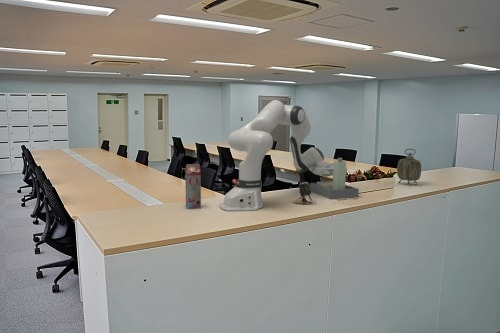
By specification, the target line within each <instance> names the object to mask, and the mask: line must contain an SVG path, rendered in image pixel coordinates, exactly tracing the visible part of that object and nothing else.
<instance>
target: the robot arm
mask: <svg viewBox="0 0 500 333" xmlns="http://www.w3.org/2000/svg"><path fill="white" fill-rule="evenodd" d="M277 125H283V126H290V128H291V135H290V138H289V143H290V147H291V148H290V149H291V153H292V158H293V166H294V168H295V170H296V169H297V168H298V167H300V168H301V169H302V171H301V173H306V172H307V171H308V170H309V171H310V172H311V173H312V174H314V175H316V176H321V177H324V178H328V177H330V176H333V170H334V162H333V163H331V162H327V161H325V156H324V153H323V152H322V151H321V150H320V149H319V148H318V147H314V146H311V147H310V148H309V149H307V150H306V151H304V152H303V153H302V152H301V151H302V150H301V145H302V144H303V143H304V141H305V140H306V139H307V137H308V136H309V135H310V132H311V130H312V129H311V128H312V127H311V122H310V119H309V117H308V116H307V113H306V112H305V110H304V108H303V107H301V106H299V105H292V104H291V105H290V104H284V103H283V102H282V101H280V100H278V99H275V100H271V101H270V102H269V103H268V104H266V105H265V106H264V107H263V108H262V109H261V110H260V112H259V113H258V114H257V115H256V116H255V118H253V119H252V120H251V121H250V122H248V123H247V124H245V125H244V126H242V127H241V128H239V129H237V130H234V131H231V132H230V134H229V137H228V145H229V146H230V148H231V149H232V150H235V151H238V152H246V155H245V158H244V159H243V160H242V161H240V163H239V165H238V179H232V183H233V184H234V187H233V188H232V189H230V190H229V191H228V192H226V193H225V195H224V199H223V202H222V203H219V208H220V209H221V210H222V211H227V212H235V211H236V212H237V211H238V212H242V211H249V212H250V211H258V210H259V209H262V208H263V207H264V204H263V198H262V187H263V186H262V179H261V176H262V175H261V174H262V173H261V172H262V164H263V161H264V158H265V156H266V155H267V153H269V152H270V150H271V149H272V148H273V144H274V140H273V139H274V138H273V136H272V135H271V133H272V132H273V131H274V129H275V128H276V127H277ZM347 173H348V167H346V174H347Z"/></svg>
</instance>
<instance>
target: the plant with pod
mask: <svg viewBox="0 0 500 333" xmlns="http://www.w3.org/2000/svg"><path fill="white" fill-rule="evenodd" d="M301 171H302V169H301V168H300V167H298V168H297V169H296V168H295V174H298V176H299V178H301V174H302V172H301ZM298 190H299V196H300V197H298V198H297V199H296V200H293V201H292V203H295V204H296V203H297V204H301V205H302V204H303V205H309V204H308V203H310V204H311V202H313V199H312V198H311V194H312V193H313V192H312V191H311V187H310V183H309V182H307V181H303V182H301V179H299V184H298ZM306 196H308V198H309V199H310V201H311V202H310V201H309V200H307V199H306Z"/></svg>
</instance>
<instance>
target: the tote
mask: <svg viewBox="0 0 500 333" xmlns="http://www.w3.org/2000/svg"><path fill="white" fill-rule="evenodd" d="M316 183H317V182H310V183H309V185H310V187H311V191H312V192H311V193H314V194H316V195H318V196H321V197H324V198H326V199H329V200H340V201H348V200H347V199H356V200H359V195H360V194H359V191H360V190H359V188H358V187H354V186H350V185H349V184H345V189H339V190H330V189H327V188H324V187H322V186H319V185H316Z"/></svg>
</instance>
